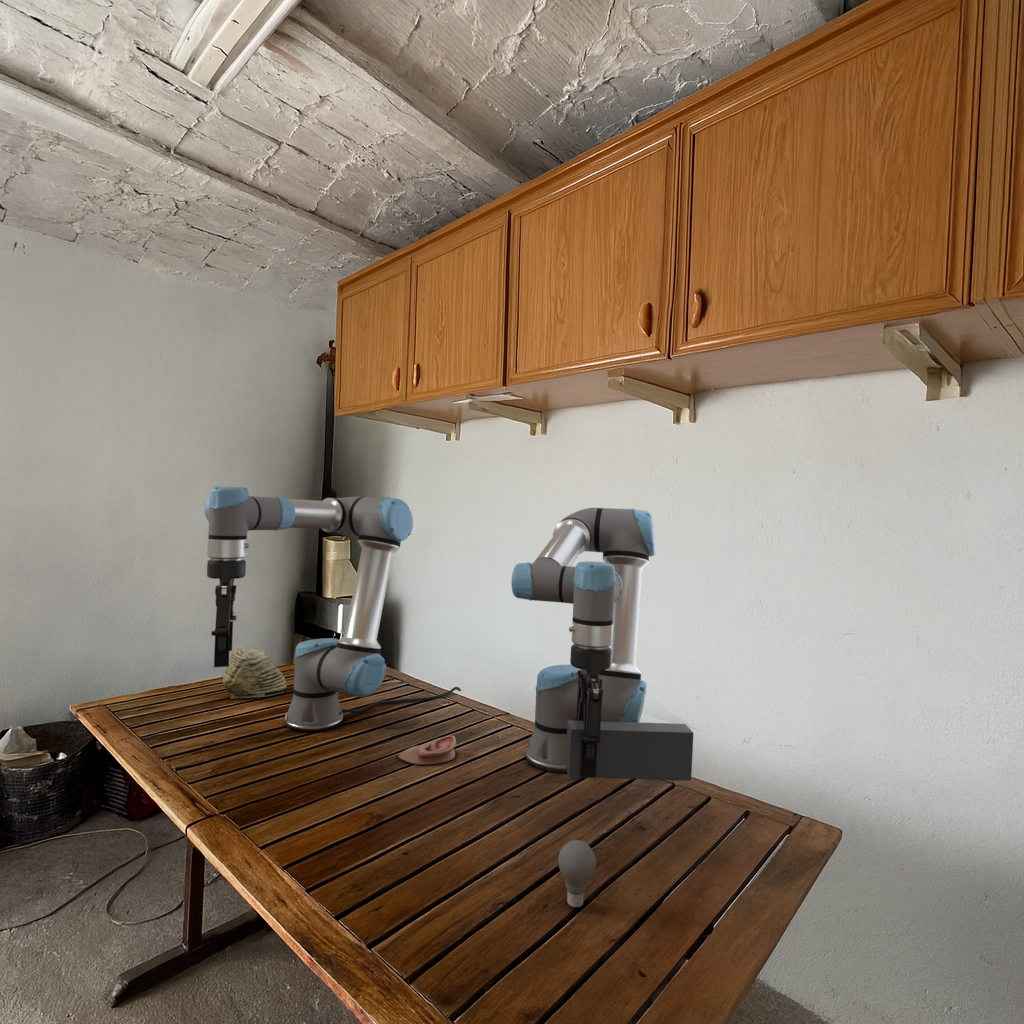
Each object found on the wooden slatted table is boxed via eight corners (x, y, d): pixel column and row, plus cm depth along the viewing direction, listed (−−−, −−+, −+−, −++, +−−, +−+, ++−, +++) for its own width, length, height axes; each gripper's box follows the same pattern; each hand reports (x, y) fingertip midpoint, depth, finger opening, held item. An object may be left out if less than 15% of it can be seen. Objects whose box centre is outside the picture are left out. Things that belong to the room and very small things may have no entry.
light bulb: (553, 893, 104) (556, 833, 104) (589, 892, 104) (592, 832, 104) (559, 917, 98) (562, 853, 98) (597, 916, 99) (600, 853, 98)
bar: (683, 769, 121) (685, 723, 121) (691, 780, 116) (693, 732, 116) (565, 766, 120) (567, 720, 120) (568, 777, 115) (571, 729, 115)
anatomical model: (394, 745, 152) (411, 728, 164) (393, 761, 153) (410, 744, 164) (446, 752, 150) (460, 734, 161) (446, 768, 150) (459, 750, 161)
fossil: (218, 695, 195) (220, 647, 195) (278, 685, 208) (279, 640, 207) (228, 703, 189) (230, 653, 188) (289, 692, 201) (290, 645, 201)
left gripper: (244, 565, 124) (240, 672, 125) (247, 553, 148) (244, 644, 148) (201, 565, 122) (198, 675, 122) (212, 553, 145) (208, 645, 145)
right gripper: (564, 634, 126) (559, 750, 127) (578, 656, 109) (572, 791, 109) (602, 636, 127) (596, 751, 127) (621, 657, 109) (615, 792, 109)
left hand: (223, 658), depth 135 cm, fingers open, 13 cm apart
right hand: (585, 769), depth 118 cm, fingers closed on bar, 5 cm apart
